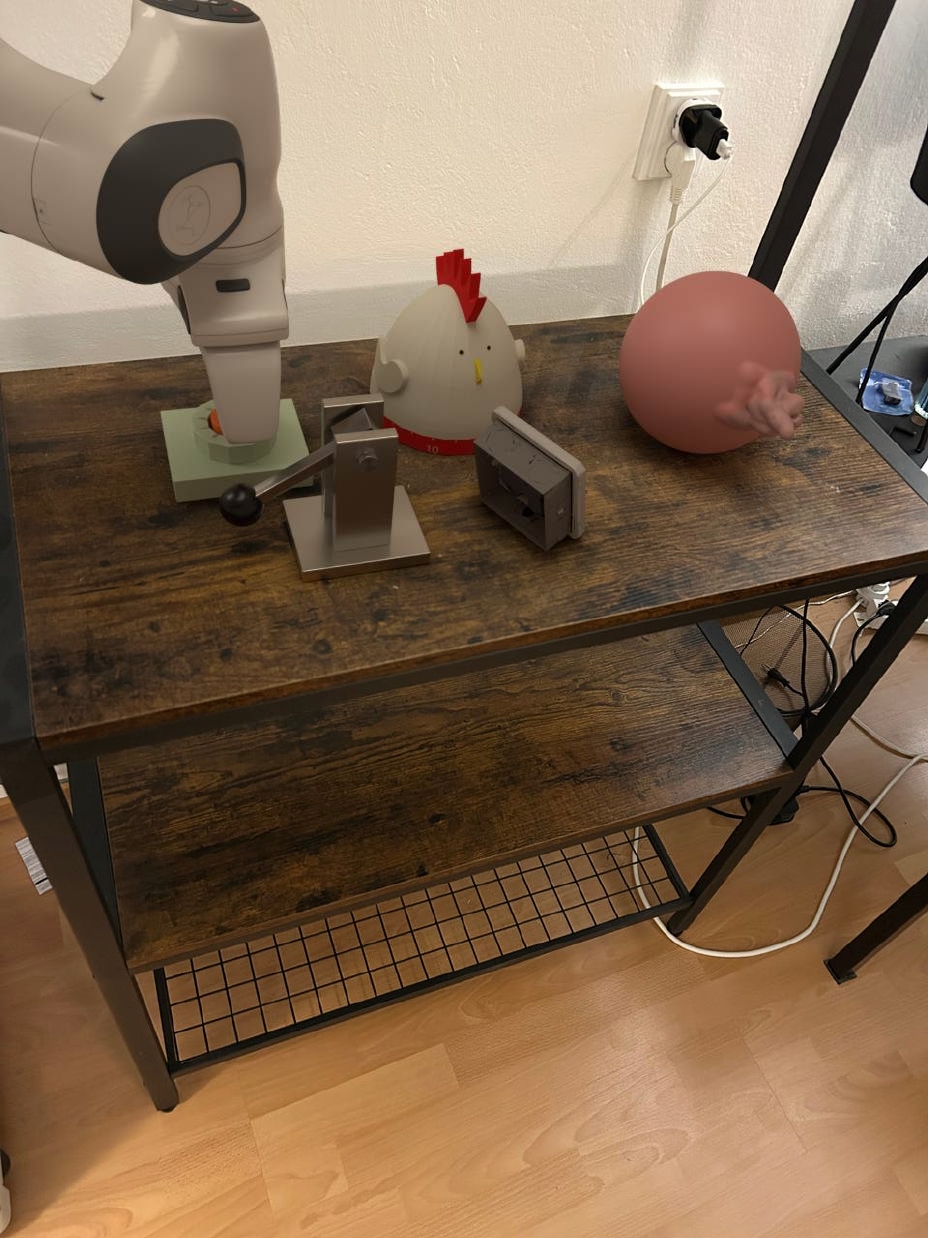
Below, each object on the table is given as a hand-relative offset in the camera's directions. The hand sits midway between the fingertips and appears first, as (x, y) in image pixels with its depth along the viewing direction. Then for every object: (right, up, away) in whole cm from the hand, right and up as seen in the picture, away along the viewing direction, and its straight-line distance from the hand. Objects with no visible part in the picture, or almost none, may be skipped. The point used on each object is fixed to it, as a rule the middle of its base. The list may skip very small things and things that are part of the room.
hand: (235, 414), depth 78 cm
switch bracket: (+10, -10, -1) cm, 14 cm away
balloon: (+40, -1, +11) cm, 41 cm away
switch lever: (+7, -7, -7) cm, 12 cm away
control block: (-1, -3, +3) cm, 5 cm away
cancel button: (0, -1, +1) cm, 2 cm away
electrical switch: (+23, -9, +2) cm, 25 cm away
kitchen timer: (+17, +3, +11) cm, 20 cm away
